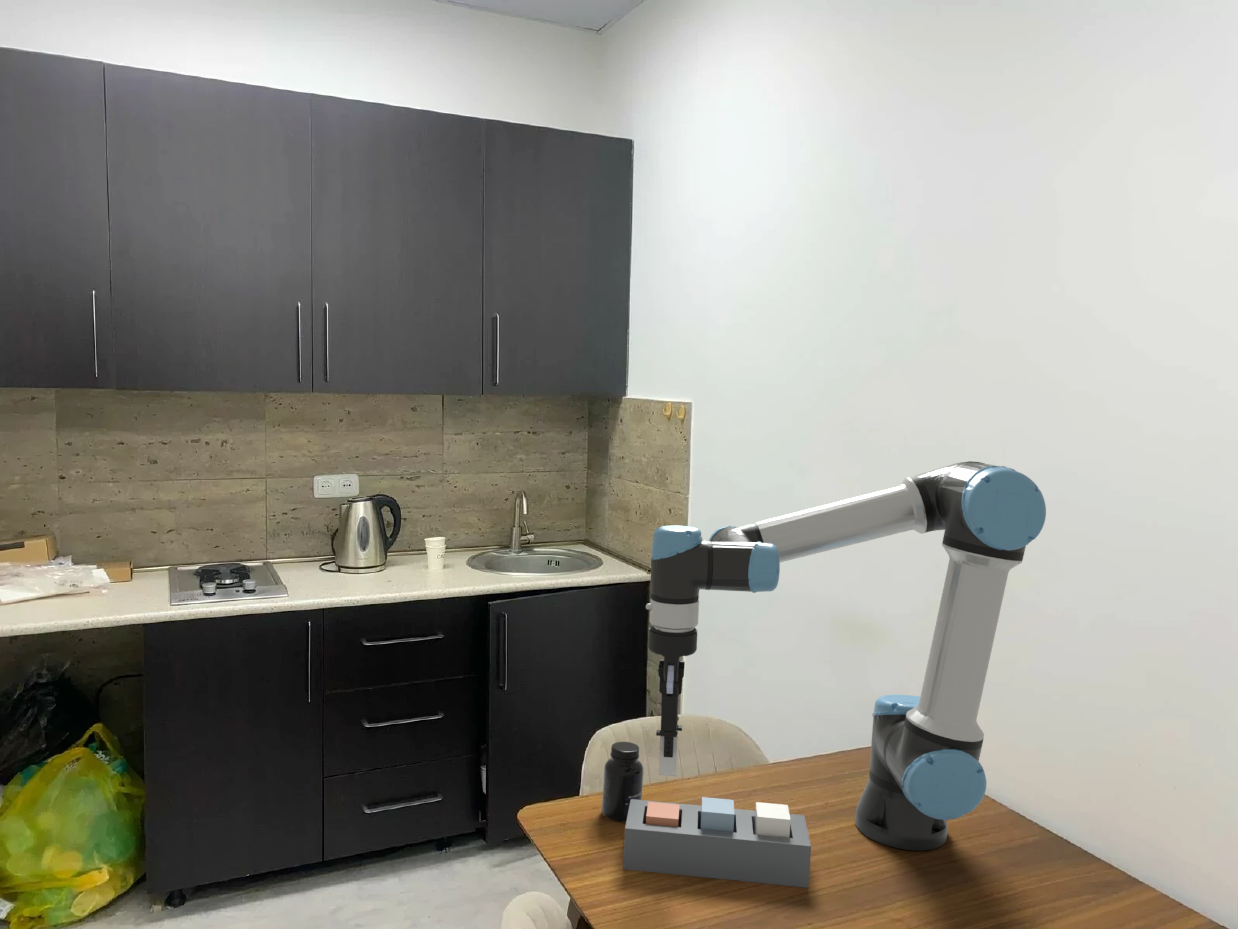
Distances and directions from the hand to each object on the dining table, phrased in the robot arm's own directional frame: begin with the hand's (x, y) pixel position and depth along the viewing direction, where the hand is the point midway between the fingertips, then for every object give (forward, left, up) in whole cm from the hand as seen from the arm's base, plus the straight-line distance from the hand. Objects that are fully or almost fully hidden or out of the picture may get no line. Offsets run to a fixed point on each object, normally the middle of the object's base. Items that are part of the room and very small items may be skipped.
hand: (667, 773), depth 141 cm
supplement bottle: (+8, -13, -14) cm, 20 cm away
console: (-8, 0, -14) cm, 16 cm away
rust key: (0, 0, -11) cm, 11 cm away
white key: (-17, 0, -9) cm, 19 cm away
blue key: (-8, 0, -9) cm, 12 cm away
